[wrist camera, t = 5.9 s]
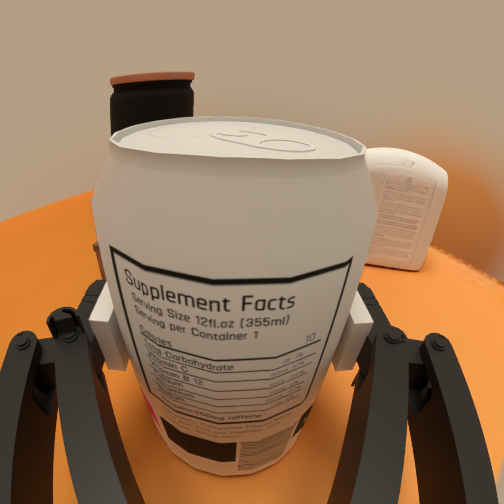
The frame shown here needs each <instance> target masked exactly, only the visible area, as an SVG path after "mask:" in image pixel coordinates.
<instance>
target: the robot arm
mask: <svg viewBox="0 0 504 504" xmlns="http://www.w3.org/2000/svg"><path fill="white" fill-rule="evenodd" d="M46 323H47V325H48V327H49V330H50V332H51V334H52V336H53V337H51V338H45V339H37V337H36V335H35V334H34V333H33V332H32V331H22V332H20V333H18V334H16V335H15V336H14V337H13V338H12V340H11V342H10V344H9V347H8V350H7V353H6V356H5V359H4V362H3V365H2V368H1V371H0V504H53V459H54V442H55V431H56V421H57V412H58V407H59V415H60V422H61V428H62V435H63V440H64V446H65V451H66V456H67V461H68V465H69V470H70V474H71V478H72V482H73V486H74V489H75V493H76V497H77V500H78V503H79V504H145V502H144V500H143V498H142V495H141V493H140V490H139V488H138V485H137V483H136V480H135V477H134V475H133V472H132V469H131V467H130V464H129V461H128V458H127V455H126V452H125V449H124V446H123V443H122V440H121V436H120V433H119V430H118V426H117V423H116V419H115V416H114V412H113V408H112V404H111V400H110V396H109V392H108V388H107V383H106V379H105V375H104V373H103V371H102V368H103V364H104V361H105V362H106V365H107V367H108V369H112V370H121V371H126V368H127V364H128V361H129V355H128V352H127V349H126V346H125V343H124V340H123V337H122V333H121V330H120V327H119V324H118V320H117V317H116V313H115V310H114V306H113V303H112V299H111V295H110V292H109V288H108V284H107V280H96V281H95V282H94V283H92V284H91V285H90V286H89V287H88V289H87V291H86V293H85V296H84V297H83V299H82V302H81V303H80V305H79V306H78V308H77V310H76V309H74V308H72V307H62V308H59V309H56V310H55V311H53V312H52V313H51V314H50V315H49V317H48V318H47V322H46ZM356 361H357V363H358V366H359V368H360V369H359V371H358V373H357V375H356V376H355V378H354V380H353V382H352V384H351V386H354V384H355V387H354V393H353V399H352V404H351V410H350V415H349V420H348V425H347V429H346V434H345V439H344V443H343V447H342V452H341V456H340V460H339V464H338V468H337V471H336V475H335V479H334V482H333V486H332V489H331V493H330V496H329V500H328V503H327V504H398V498H399V493H400V486H401V480H402V472H403V464H404V456H405V446H406V434H407V419H408V425H409V430H410V436H411V441H412V447H413V454H414V460H415V467H416V475H417V483H418V492H419V502H420V504H498V498H497V491H496V486H495V481H494V476H493V471H492V466H491V462H490V458H489V454H488V450H487V446H486V442H485V438H484V435H483V431H482V428H481V424H480V421H479V418H478V415H477V411H476V408H475V405H474V402H473V399H472V396H471V394H470V391H469V388H468V385H467V383H466V380H465V377H464V375H463V372H462V369H461V367H460V364H459V362H458V359H457V357H456V354H455V352H454V350H453V347H452V345H451V343H450V342H449V340H448V339H447V338H446V337H445V336H443V335H441V334H438V333H430V334H428V335H427V336H426V337H425V339H424V341H419V340H413V339H408V338H407V336H406V335H405V334H404V332H403V331H401V330H400V329H399V328H396V327H394V326H391V324H390V323H389V321H388V319H387V317H386V315H385V314H384V312H383V310H382V308H381V306H380V305H379V303H378V301H377V299H375V296H374V294H373V292H372V291H371V289H370V288H368V287H367V286H366V285H365V284H364V283H359V285H358V288H357V291H356V294H355V297H354V300H353V303H352V306H351V309H350V312H349V315H348V318H347V320H346V323H345V326H344V329H343V332H342V334H341V337H340V340H339V342H338V345H337V348H336V350H335V353H334V355H333V358H332V363H333V366H334V369H335V371H345V370H352V369H353V367H354V365H355V363H356Z"/></svg>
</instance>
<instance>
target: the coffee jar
mask: <svg viewBox="0 0 504 504" xmlns="http://www.w3.org/2000/svg"><path fill="white" fill-rule="evenodd" d="M194 75H195V74H194V73H193V72H152V73H139V74H131V75H123V76H117V77H112V78H111V79H110V82H111V85H113V86H112V87H113V88H114V93H113V94H112V95H111V98H110V119H111V137H112V135H113V134H114V133H115V132H118V131H120V130H123V129H125V128H128V127H131V126H134V125H139V124H143V123H148V122H153V121H159V120H166V119H175V118H184V117H193V106H194V92H193V90H192V88H191V87H190V83H191V82H192V80H194Z"/></svg>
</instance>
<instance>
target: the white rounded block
mask: <svg viewBox="0 0 504 504" xmlns="http://www.w3.org/2000/svg"><path fill="white" fill-rule="evenodd" d="M364 158H365V162H366V165H367V168H368V171H369V175H370V178H371V182H372V185H373V189H374V192H375V196H376V200H377V220H376V225H375V229H374V233H373V237H372V240H371V244H370V248H369V251H368V255H367V258H366V261H365V263H368V264H374V265H380V266H387V267H394V268H399V269H406V270H420V268H421V267H422V264H423V262H424V259H425V256H426V254H427V251H428V248H429V245H430V243H431V240H432V237H433V234H434V231H435V228H436V225H437V222H438V219H439V216H440V213H441V210H442V206H443V203H444V199H445V196H446V193H447V187H448V177H447V173H446V171H445V170H443V169H442V168H441V167H440V166H438V165H437V164H435V163H434V162H432V161H431V160H429V159H427V158H425V157H423V156H421V155H418V154H416V153H413V152H410V151H406V150H402V149H395V148H371V149H366V151H365V157H364Z"/></svg>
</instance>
